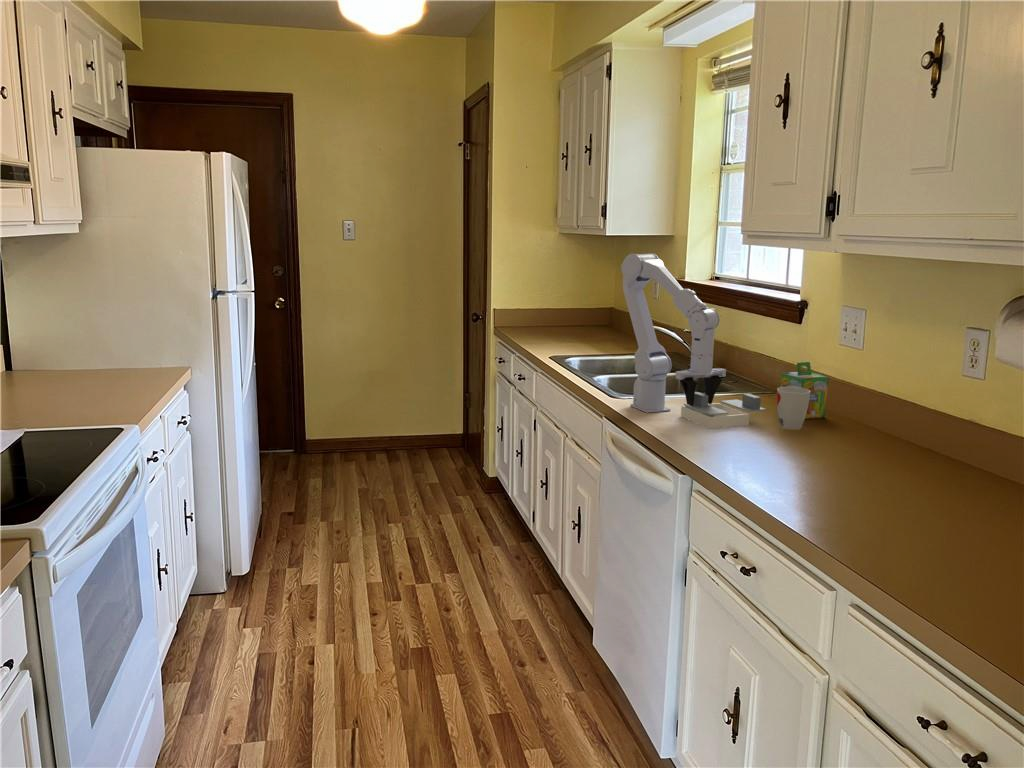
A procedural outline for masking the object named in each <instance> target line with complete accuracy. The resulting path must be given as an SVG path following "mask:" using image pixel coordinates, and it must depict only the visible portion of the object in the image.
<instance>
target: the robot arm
mask: <svg viewBox="0 0 1024 768" xmlns="http://www.w3.org/2000/svg"><path fill="white" fill-rule="evenodd" d="M620 268H621V269H620V270H621V273H622V291H623V295H624V299H625V301H626V306H627V309H628V312H629V317H630V320H631V323H632V327H633V331H634V335H635V340H636V342H637V346H638V348H637V350H636V351H635V353H634V354H633V355H634V360H635V365H634V370H635V373H636V375H637V376H638V377H637V378H636V380H635V381H634V382H633V395H632V396H633V397H632V403H630V405H629V406H631V407H632V408H634V409H637V410H639V411H642V412H644V413H658V412H659V413H660V412H668V411H671V407H670V408H669V407H667V406H665V403H666V400H665V399H666V385H667V384H666V381H667V379H666V378H668V374H669V373H670V372H671V370H672V366H673V365H672V364H673V363H672V359H671V358H670V356H669V355H668V354H667V351H666V349H665V347H664V346H663V345H662V344H660V343H659V341H658V339H657V335H656V332H655V327H654V324H653V319H652V316H651V313H650V309H649V305H648V301H647V298H646V295H645V292H644V289H645V287H646V285H647V284H648V283H649V282H650V281H651V280H654V281H655V282H656V283H658V284H659V285H660V286H661V287H662V288H663V289H664V290H665V291H666V292H667V293H668V294H669V295H671V297H672V298H673V300H672V302H673V305H674V306H675V307H676V309H678V310H679V311H680V312H681V314H682V315H683V316H684V317H685V318H686V319H687V322H688V327H689V329H690V331H691V335H690V336H691V353H690V366H689V367H690V368H689V369H685V370H678V371H677V370H676V371H675V379H676V380H679V382H680V384H681V387H682V389H683V392H684V394H685V399H686V404H688V405H691V406H692V405H693V404H694V394H695V392H696V388H697V385H698V381H696V380H695V379H700V378H703V380H704V388H705V389H704V390H705V391H704V392H705V393H704V394H706V395H708V404H712V403H713V401H714V397H715V394H716V393H717V390H718V389H719V387H720V385H721V384H722V383H723V378H721V377H726V376H727V369H726V368H713V364H714V362H713V361H714V349H715V347H714V346H715V345H714V344H715V330H716V328H718V326H719V324H720V316H719V313H718V312H717V310H716V309H715V308H712V307H708V305H707V304H706V303H704V302H702V300H701V299H699V297H698V296H697V293H696V291H694V289H692V290H691V289H690V288H683V287H682V285H681V284H679V282H678V281H677V280H676V279H675V277H674V276H673V275H672V274H671V272H670V271H669V270H668V269H667V267H665V264H664V261H663V260H662V259H661V258H659V256H658V255H657V254H656V253H654V252H652V253H651V252H650V253H649V252H648V253H640V254H639V253H629V254H627V255H626V257H625V258H624V260H623V262H622V263H621V265H620Z"/></svg>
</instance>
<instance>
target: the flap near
mask: <svg viewBox="0 0 1024 768" xmlns="http://www.w3.org/2000/svg"><path fill="white" fill-rule="evenodd" d="M683 406H687V407H689V408H692V409H695V410H697V411H700V412H702V413H705V414H707V415H721V414H728V412H726V411H723V410H721V409H718V408H715V407H712V406H710V405H708V395H706V394H705V393H702V392H699V391H695V394H694V404H693V405H692V406H691V405H688V404H687V403H683Z"/></svg>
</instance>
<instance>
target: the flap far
mask: <svg viewBox="0 0 1024 768" xmlns="http://www.w3.org/2000/svg"><path fill="white" fill-rule="evenodd" d="M761 399H762V397H761V396H758V395H755V394H752V393H743V394H742V400H740V399H737V398H736V399H729V400H728V399H727V400H720V404H723V405H726V406H729V407H732V408H735V409H737V410H740V411H743V412H746V413H753V412H764V411H767V408H764V407H761V403H762V402H761V401H762V400H761Z"/></svg>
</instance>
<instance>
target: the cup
mask: <svg viewBox="0 0 1024 768" xmlns="http://www.w3.org/2000/svg"><path fill="white" fill-rule="evenodd" d="M776 390H777V393H776V397H777V398H776V407H777V409H776V410H777V417H778V421H779V425H780V428H781V427H782V429H785V430H793V431H795V430H796V431H797V430H801V429H802V427H803V424H804V422H805V420H806V419H805V416H806V413H807V409H808V404H809V398H810V390H808V389H804V388H798V387H781V386H780V387H777V389H776Z"/></svg>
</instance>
